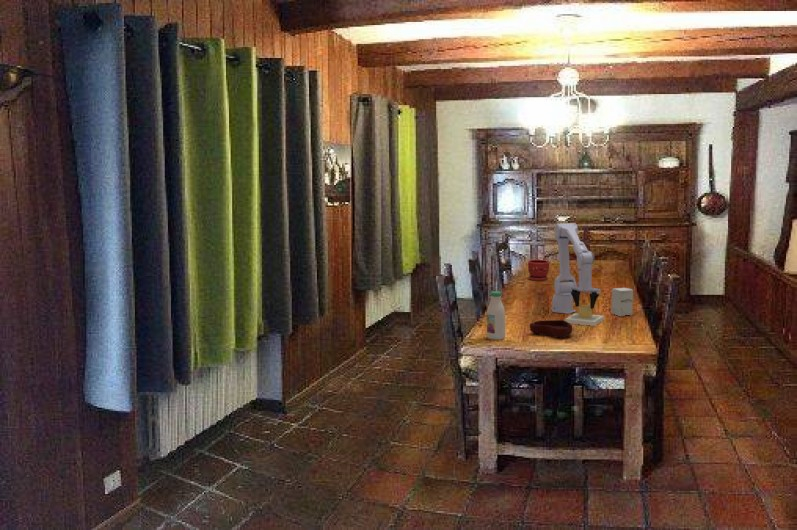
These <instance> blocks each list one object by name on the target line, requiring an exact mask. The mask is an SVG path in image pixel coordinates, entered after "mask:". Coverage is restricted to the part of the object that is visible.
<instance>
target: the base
mask: <svg viewBox="0 0 797 530" xmlns="http://www.w3.org/2000/svg"><path fill="white" fill-rule="evenodd" d="M603 320H604V321H605V315H599V314H592V317H590V318H588V319H586V318H579V317H578V312H574V313H573V314H571V315H569V316H568V317H566V318H565V319H564V321H566V322H568V323H570V324H571V325H578V324H580V326H588V325H590V327H596V326H598V325H599V324H601V323H602V322H603ZM600 322H601V323H600ZM597 324H598V325H597Z"/></svg>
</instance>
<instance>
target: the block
mask: <svg viewBox="0 0 797 530" xmlns="http://www.w3.org/2000/svg"><path fill="white" fill-rule="evenodd" d="M577 308H578V309H577V313H578V317H579V318H586V319H588V318H590V317H592V315H593V309H591V307H590V305H587V304H581V305H579V306H578V307H577Z"/></svg>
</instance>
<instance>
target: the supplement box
mask: <svg viewBox="0 0 797 530" xmlns="http://www.w3.org/2000/svg"><path fill="white" fill-rule="evenodd" d="M633 307H634V289H632V288H629V287H628V288H627V287H617V288H611V310H610V311H611V313H612V315H614V314H615V316H616V315H618V316H617V317H619V316H620V317H626V316H625V315H630V316H633V314H634V313H633V312H634V309H633Z"/></svg>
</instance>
